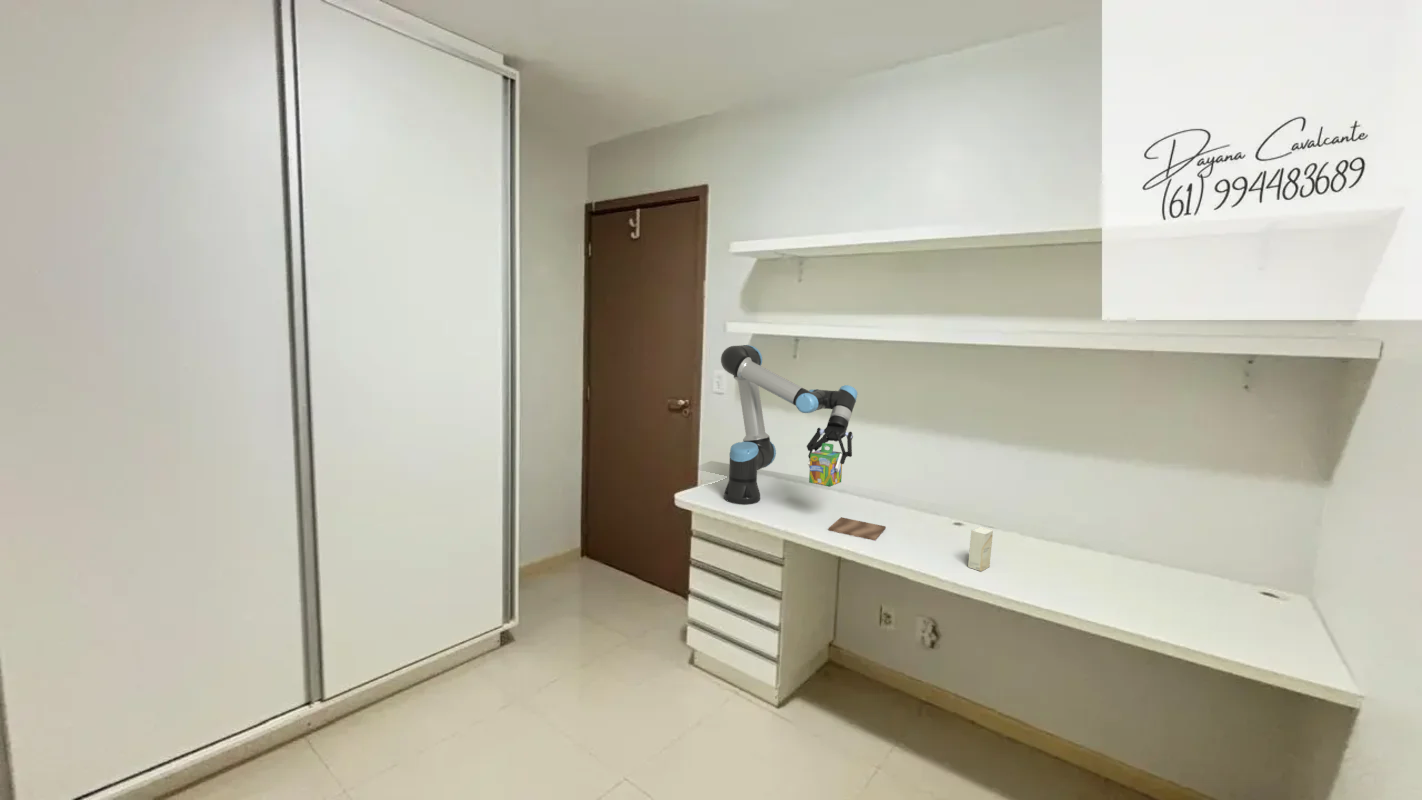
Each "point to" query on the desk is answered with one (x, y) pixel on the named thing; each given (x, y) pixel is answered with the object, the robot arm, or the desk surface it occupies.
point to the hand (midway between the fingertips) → (823, 468)
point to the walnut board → (857, 528)
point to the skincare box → (980, 548)
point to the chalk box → (824, 466)
